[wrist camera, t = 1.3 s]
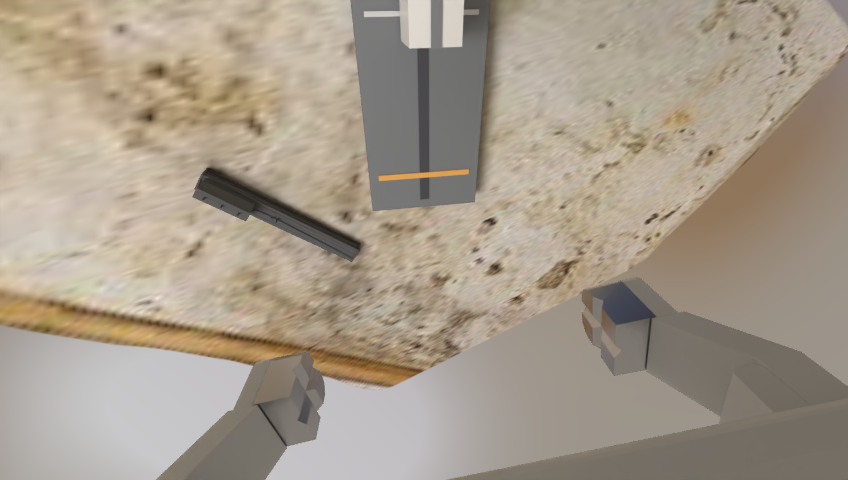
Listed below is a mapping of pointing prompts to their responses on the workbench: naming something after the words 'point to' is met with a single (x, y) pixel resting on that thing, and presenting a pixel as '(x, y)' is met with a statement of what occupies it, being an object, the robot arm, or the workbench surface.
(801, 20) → the workbench surface
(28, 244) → the workbench surface
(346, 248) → the dark grey bar
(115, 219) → the workbench surface
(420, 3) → the fader cap
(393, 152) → the slider console
